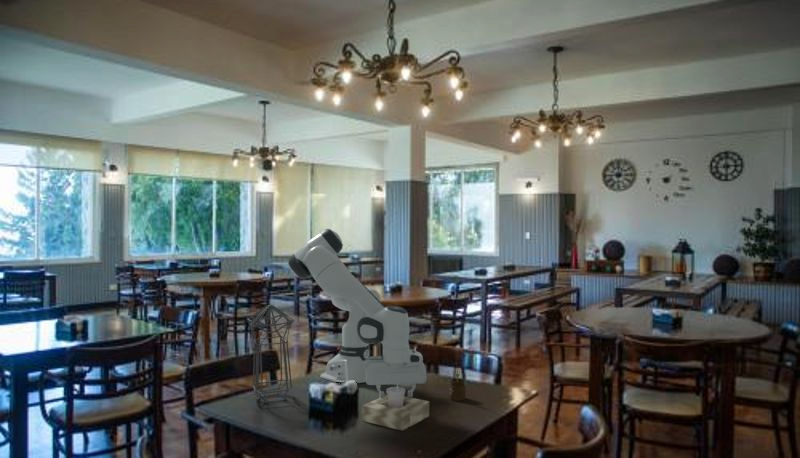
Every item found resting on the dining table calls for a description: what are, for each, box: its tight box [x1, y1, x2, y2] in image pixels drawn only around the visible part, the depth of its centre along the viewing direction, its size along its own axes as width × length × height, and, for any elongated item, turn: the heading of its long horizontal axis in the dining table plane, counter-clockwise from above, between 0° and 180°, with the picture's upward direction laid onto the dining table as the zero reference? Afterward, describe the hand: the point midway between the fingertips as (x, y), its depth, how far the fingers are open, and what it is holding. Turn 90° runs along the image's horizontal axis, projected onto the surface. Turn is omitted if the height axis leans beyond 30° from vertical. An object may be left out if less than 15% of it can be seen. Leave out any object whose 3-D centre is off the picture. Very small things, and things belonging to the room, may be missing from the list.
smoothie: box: [385, 384, 406, 408], centre depth 186 cm, size 6×6×14 cm
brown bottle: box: [448, 367, 467, 402], centre depth 207 cm, size 6×6×12 cm
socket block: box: [361, 394, 430, 431], centre depth 186 cm, size 16×16×5 cm
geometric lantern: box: [245, 304, 296, 404], centre depth 206 cm, size 16×16×35 cm
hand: (395, 397), depth 186 cm, fingers open, 8 cm apart
